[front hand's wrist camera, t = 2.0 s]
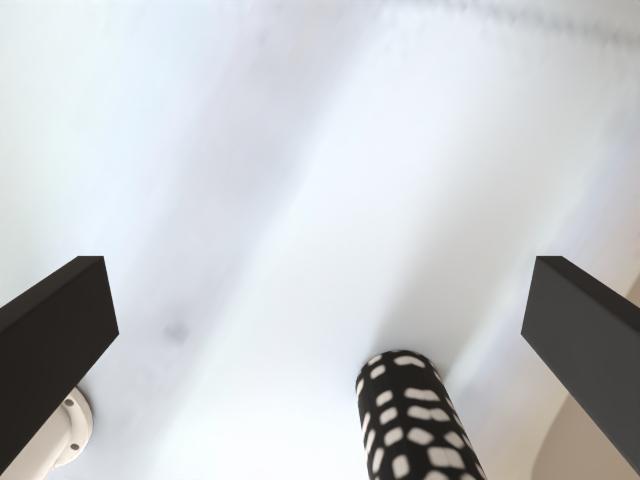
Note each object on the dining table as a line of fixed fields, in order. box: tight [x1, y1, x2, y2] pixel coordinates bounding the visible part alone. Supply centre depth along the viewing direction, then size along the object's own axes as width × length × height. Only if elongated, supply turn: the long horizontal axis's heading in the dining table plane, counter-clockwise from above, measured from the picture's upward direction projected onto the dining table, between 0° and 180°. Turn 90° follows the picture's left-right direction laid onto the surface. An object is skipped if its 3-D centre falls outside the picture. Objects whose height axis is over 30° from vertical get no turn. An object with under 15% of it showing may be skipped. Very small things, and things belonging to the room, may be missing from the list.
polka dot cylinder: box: [356, 350, 487, 480], centre depth 30 cm, size 8×8×20 cm
